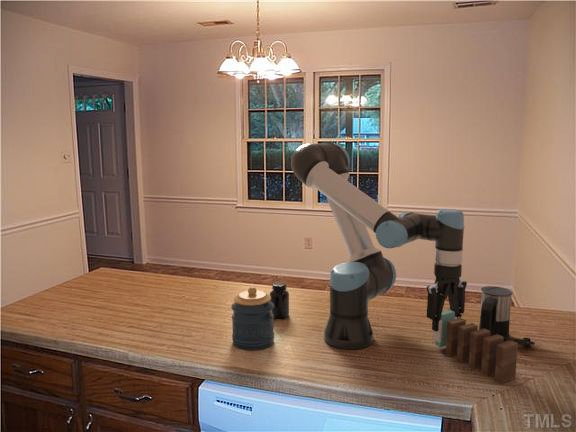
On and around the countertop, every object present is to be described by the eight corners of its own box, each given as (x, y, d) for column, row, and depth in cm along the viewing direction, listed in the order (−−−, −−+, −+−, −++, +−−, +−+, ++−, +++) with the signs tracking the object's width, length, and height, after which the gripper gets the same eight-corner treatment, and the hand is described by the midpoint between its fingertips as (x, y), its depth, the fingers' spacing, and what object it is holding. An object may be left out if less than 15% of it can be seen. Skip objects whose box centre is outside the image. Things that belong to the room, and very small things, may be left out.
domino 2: (464, 352, 139) (465, 320, 137) (450, 356, 137) (452, 323, 135) (458, 350, 141) (460, 317, 139) (445, 353, 138) (447, 321, 137)
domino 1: (435, 344, 142) (436, 312, 140) (448, 341, 144) (449, 309, 143) (440, 347, 140) (441, 315, 139) (453, 343, 143) (454, 312, 141)
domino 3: (475, 359, 135) (477, 325, 133) (462, 363, 133) (464, 329, 131) (470, 356, 137) (472, 323, 135) (456, 360, 135) (458, 326, 133)
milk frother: (478, 327, 157) (481, 284, 154) (532, 335, 151) (536, 290, 148) (476, 345, 144) (479, 298, 142) (535, 354, 138) (539, 305, 135)
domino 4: (488, 365, 131) (490, 331, 130) (474, 369, 129) (476, 334, 127) (482, 362, 133) (484, 328, 131) (468, 366, 131) (470, 332, 129)
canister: (227, 337, 151) (225, 283, 148) (265, 330, 156) (264, 278, 153) (239, 354, 139) (238, 296, 136) (280, 346, 144) (280, 290, 141)
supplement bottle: (266, 318, 166) (266, 285, 164) (274, 311, 172) (274, 279, 170) (284, 321, 164) (284, 287, 162) (292, 314, 170) (291, 281, 168)
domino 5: (501, 372, 128) (503, 337, 126) (487, 376, 125) (489, 340, 124) (495, 369, 129) (497, 334, 128) (481, 373, 127) (483, 338, 125)
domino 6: (515, 379, 124) (517, 343, 122) (501, 384, 122) (503, 347, 120) (508, 376, 126) (511, 340, 124) (494, 380, 123) (497, 344, 122)
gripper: (461, 256, 145) (457, 328, 149) (414, 263, 137) (412, 340, 141) (481, 262, 139) (476, 337, 143) (433, 270, 131) (429, 350, 135)
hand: (444, 338), depth 142 cm, fingers closed on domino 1, 5 cm apart
